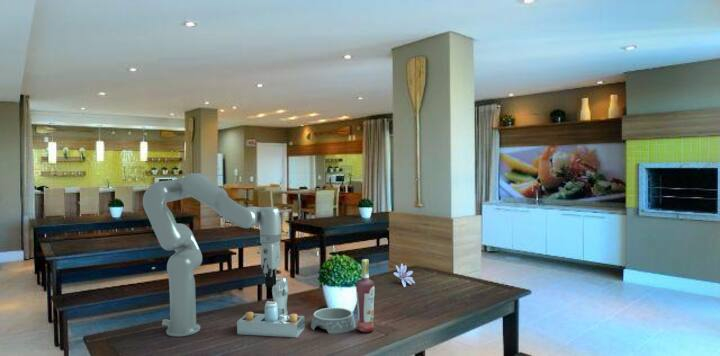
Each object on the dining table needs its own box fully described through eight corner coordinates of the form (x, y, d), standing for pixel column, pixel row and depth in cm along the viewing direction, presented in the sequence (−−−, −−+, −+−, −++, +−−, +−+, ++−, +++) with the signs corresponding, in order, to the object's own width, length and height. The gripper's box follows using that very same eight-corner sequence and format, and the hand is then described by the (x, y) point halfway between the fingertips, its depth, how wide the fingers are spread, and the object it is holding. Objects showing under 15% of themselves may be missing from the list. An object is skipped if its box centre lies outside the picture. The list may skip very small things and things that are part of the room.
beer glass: (285, 316, 203) (284, 282, 203) (270, 315, 204) (269, 281, 204) (290, 311, 210) (290, 278, 209) (276, 310, 211) (275, 277, 211)
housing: (237, 334, 183) (237, 321, 183) (247, 325, 193) (247, 313, 193) (297, 337, 179) (297, 324, 179) (304, 328, 189) (304, 315, 189)
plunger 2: (288, 328, 183) (288, 315, 183) (290, 326, 186) (290, 313, 186) (296, 329, 183) (295, 316, 182) (298, 326, 186) (298, 313, 185)
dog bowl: (326, 316, 204) (326, 304, 204) (363, 323, 195) (363, 310, 194) (302, 328, 190) (302, 315, 189) (340, 337, 180) (340, 323, 180)
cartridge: (263, 333, 184) (262, 303, 183) (267, 328, 189) (267, 299, 188) (275, 333, 183) (275, 304, 183) (279, 329, 188) (279, 300, 188)
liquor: (368, 335, 181) (368, 262, 180) (352, 331, 185) (352, 260, 184) (378, 329, 187) (377, 259, 186) (362, 326, 191) (362, 257, 190)
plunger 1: (244, 326, 186) (244, 313, 186) (247, 323, 189) (247, 311, 189) (251, 326, 186) (251, 314, 185) (254, 324, 189) (254, 311, 188)
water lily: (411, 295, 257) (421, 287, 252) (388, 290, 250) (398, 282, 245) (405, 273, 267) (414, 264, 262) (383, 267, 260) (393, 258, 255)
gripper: (272, 242, 176) (272, 291, 177) (285, 235, 192) (286, 280, 192) (253, 242, 177) (253, 290, 178) (268, 235, 193) (268, 280, 194)
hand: (270, 285), depth 185 cm, fingers closed
